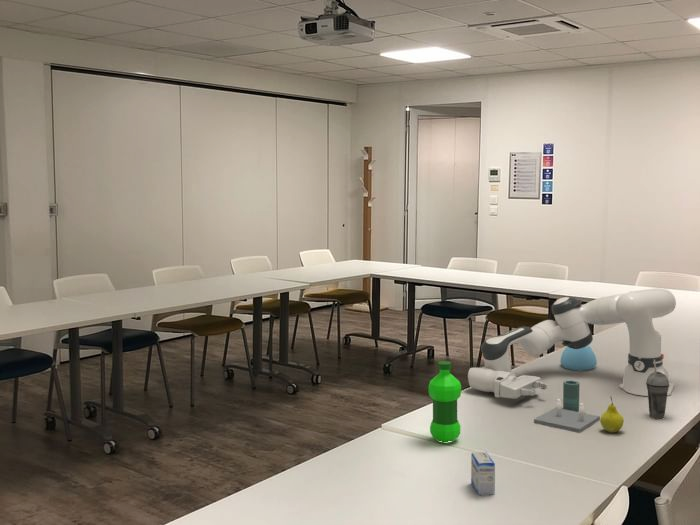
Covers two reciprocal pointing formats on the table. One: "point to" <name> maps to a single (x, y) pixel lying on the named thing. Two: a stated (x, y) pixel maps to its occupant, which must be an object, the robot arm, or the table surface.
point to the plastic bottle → (445, 404)
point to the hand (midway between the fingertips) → (540, 390)
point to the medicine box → (483, 473)
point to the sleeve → (571, 395)
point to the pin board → (567, 418)
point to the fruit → (612, 419)
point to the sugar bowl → (578, 358)
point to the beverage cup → (657, 393)
